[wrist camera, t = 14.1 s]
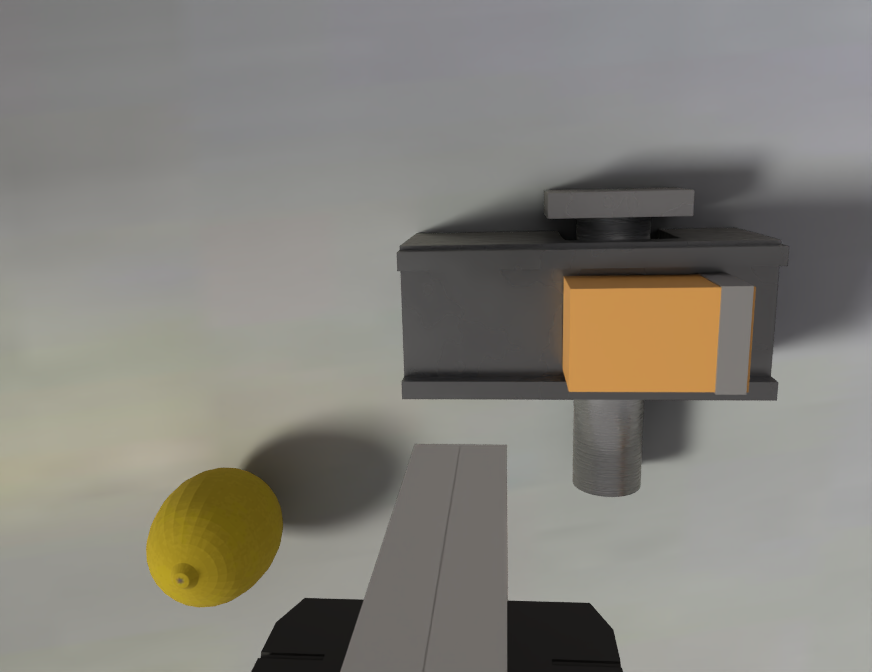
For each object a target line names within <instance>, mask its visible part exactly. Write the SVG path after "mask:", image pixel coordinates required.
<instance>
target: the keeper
mask: <svg viewBox="0 0 872 672" xmlns="http://www.w3.org/2000/svg"><path fill="white" fill-rule="evenodd" d="M755 294H756V287H755V286H753V285H751V284H749V283H747V282H745V281H743V280H740V279H738V278H736V277H734V276H732V275H730V274H728V273H698V274H691V275H608V276H564V290H563V372H564V376H565V380H566V383H567V387H568V391H569V392H714V393H715V394H716V395H746V392H749V379H750V365H751V351H752V337H753V323H754V308H755Z"/></svg>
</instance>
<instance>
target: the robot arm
mask: <svg viewBox="0 0 872 672" xmlns="http://www.w3.org/2000/svg"><path fill="white" fill-rule="evenodd" d="M251 672H623V670H622V668H621V664H620V657H619V653H618V649H617V644H616V640H615V635H614V631H613V629H612V628H611V627H610V626H609V624H608V623H607V622H606V621H605V620H604V619H603V618H602V616H601V615H600V614H599V613H598V612H597V611H596V610H595V608H594V607H593V606H592V605H591V604H590V603H572V602H536V601H508V548H507V445H475V444H415V445H414V448H413V451H412V454H411V457H410V460H409V463H408V466H407V469H406V472H405V475H404V479H403V482H402V485H401V488H400V491H399V494H398V497H397V500H396V503H395V506H394V509H393V512H392V515H391V518H390V521H389V524H388V527H387V530H386V534H385V537H384V540H383V543H382V546H381V549H380V552H379V555H378V558H377V561H376V564H375V567H374V570H373V573H372V576H371V579H370V582H369V585H368V588H367V592H366V595H365V598H364V600H355V599H319V598H304V599H303V600H302V601H301V602H300V603H298V604H297V605H296V606H295V607H294V608H292V609H291V610H290V611H289V612H288V613H287V614H285V615H284V616H283V617H282V618H281V619H280V620H278V621H277V622H276V624H275V626H274V628H273V630H272V632H271V634H270V636H269V638H268V640H267V642H266V644H265V646H264V648H263V650H262V652H261V658H258V659H257V661H256V663H255V665H254V667H253V669H252V671H251Z"/></svg>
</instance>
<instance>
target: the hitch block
mask: <svg viewBox="0 0 872 672" xmlns="http://www.w3.org/2000/svg"><path fill="white" fill-rule="evenodd" d="M788 255H789V246H786V245H783V244H781V240H780V239H776V238H773V237H769V236H765V235H762V234H758V233H754V232H750V231H747V230H743V229H739V228H683V229H658V239H621V240H564V239H563V238H562V236H561V235H560V234H559V233H558V231H516V232H460V233H416V234H415V235H414V236H412V237H411V238H410V239H408V240H407V241H406V242H404V243H403V244H402V245H400V250H399V251H398V252H397V271H401V296H402V323H403V350H404V378H403V380H402V399H538V400H777V392H778V382H777V381H776V380H775V379H774V378H772V377H771V367H772V354H773V341H774V328H775V315H776V302H777V289H778V276H779V266H788ZM698 273H728V274H730V275H732V276H734V277H736V278H738V279H740V280H743V281H745V282H747V283H749V284H751V285H753V286H755V287H756V294H755V308H754V323H753V337H752V351H751V365H750V379H749V392H746V395H716V394H715V393H714V392H569V391H568V387H567V383H566V380H565V376H564V372H563V290H564V276H608V275H691V274H698Z"/></svg>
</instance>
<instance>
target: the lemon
mask: <svg viewBox="0 0 872 672" xmlns="http://www.w3.org/2000/svg"><path fill="white" fill-rule="evenodd" d="M282 530H283V520H282V511H281V507H280V505H279V502H278V500H277V497H276V496H275V494H274V493H273V491H272V490H271V488H270V487H269V486H268V485H267V484H266V483H265V482H264V481H263V480H262V479H260V478H259V477H257V476H255V475H254V474H252V473H250V472H248V471H244V470H240V469H237V468H217V469H212V470H208V471H204V472H202V473H200V474H198V475H196V476H194V477H192V478H190V479H188V480H186V481H185V482H184V483H182V484H181V485H180V486H179V487H178V488H177V489H176V490H175V491H174V492H173V493H172V494H170V495H169V497H168V498H167V499H166V500H165V502H164V503H163V505H162V506H161V508H160V510H159V511H158V513H157V515H156V517H155V518H154V520H153V523H152V525H151V528H150V532H149V536H148V540H147V546H146V551H147V563H148V566H149V570H150V573H151V575H152V577H153V579H154V581H155V582H156V584H157V585H158V586H159V587H160V588H161V590H162V591H163V592H164V593H165V594H167V595H168V596H170V597H171V598H172V599H174V600H175V601H178V602H180V603H183V604H185V605H188V606H194V607H211V606H217V605H220V604H223V603H227V602H229V601H232V600H233V599H235V598H237V597H238V596H240V595H241V594H243V593H244V592H246V591H247V590H249V589H250V588H251V587H252V586H253V585H254V584H255V583H256V582H257V581H258V580H259V579H260V578H261V577H262V575H263V574H264V573H265V572H266V571H267V570H268V568H269V567H270V565H271V563H272V562H273V559H274V557H275V555H276V553H277V551H278V549H279V546H280V542H281V536H282Z"/></svg>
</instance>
